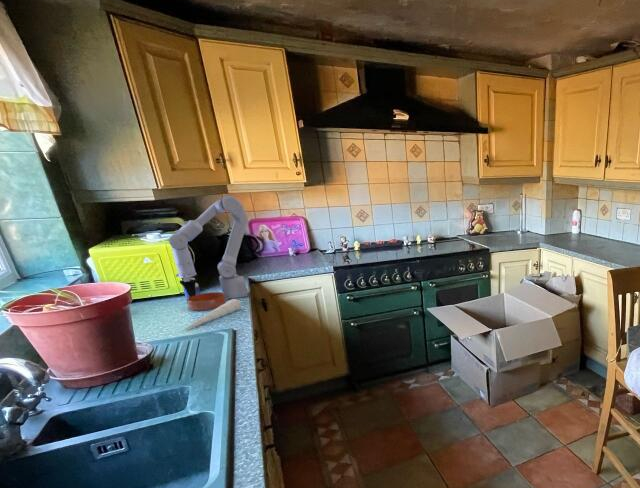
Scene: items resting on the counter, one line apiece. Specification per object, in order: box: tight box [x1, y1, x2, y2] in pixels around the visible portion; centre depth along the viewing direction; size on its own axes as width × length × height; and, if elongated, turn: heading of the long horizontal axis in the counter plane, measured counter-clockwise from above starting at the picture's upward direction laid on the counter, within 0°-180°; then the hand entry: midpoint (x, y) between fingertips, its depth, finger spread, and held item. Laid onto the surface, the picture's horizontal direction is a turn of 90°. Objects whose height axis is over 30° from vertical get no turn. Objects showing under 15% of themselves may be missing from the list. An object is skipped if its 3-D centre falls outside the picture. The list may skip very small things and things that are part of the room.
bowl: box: [186, 291, 227, 312], centre depth 175 cm, size 13×13×4 cm
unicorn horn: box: [185, 298, 242, 330], centre depth 161 cm, size 5×24×5 cm, turn 165°
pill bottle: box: [182, 278, 202, 301], centre depth 179 cm, size 6×5×10 cm
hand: (193, 294), depth 180 cm, fingers closed on pill bottle, 5 cm apart
